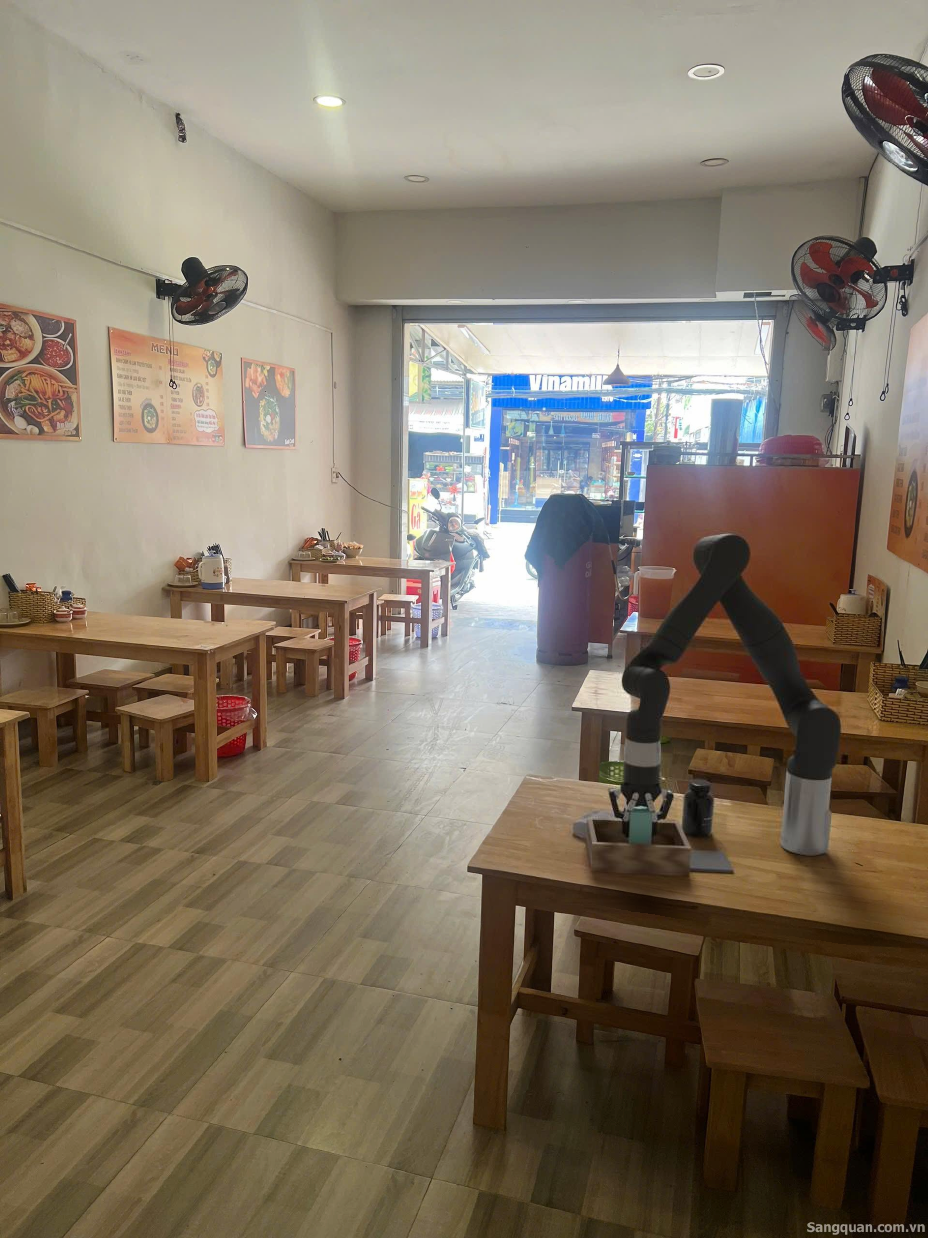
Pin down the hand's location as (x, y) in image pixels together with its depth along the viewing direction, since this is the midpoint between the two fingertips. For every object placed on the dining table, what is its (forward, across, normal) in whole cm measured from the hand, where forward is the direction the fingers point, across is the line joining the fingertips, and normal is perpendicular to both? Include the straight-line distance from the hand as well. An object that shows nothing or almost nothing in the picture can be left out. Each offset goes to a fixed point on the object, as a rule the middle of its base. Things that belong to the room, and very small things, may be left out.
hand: (638, 836), depth 185 cm
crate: (+5, 0, 0) cm, 5 cm away
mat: (+5, -15, 0) cm, 16 cm away
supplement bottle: (+6, -16, -16) cm, 23 cm away
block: (+1, 0, 0) cm, 1 cm away
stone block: (+6, +7, -14) cm, 17 cm away
